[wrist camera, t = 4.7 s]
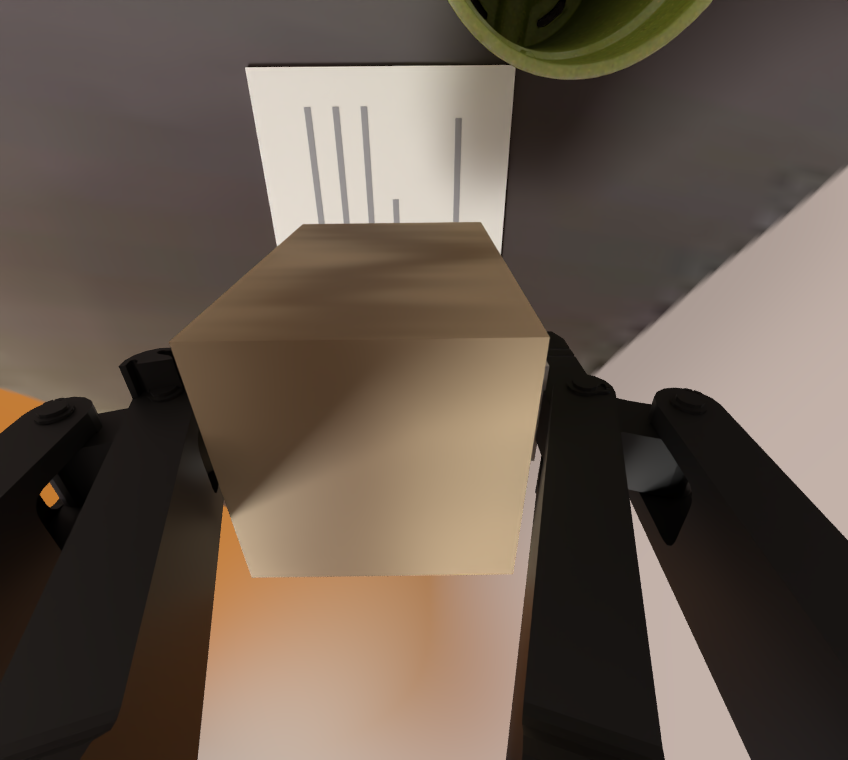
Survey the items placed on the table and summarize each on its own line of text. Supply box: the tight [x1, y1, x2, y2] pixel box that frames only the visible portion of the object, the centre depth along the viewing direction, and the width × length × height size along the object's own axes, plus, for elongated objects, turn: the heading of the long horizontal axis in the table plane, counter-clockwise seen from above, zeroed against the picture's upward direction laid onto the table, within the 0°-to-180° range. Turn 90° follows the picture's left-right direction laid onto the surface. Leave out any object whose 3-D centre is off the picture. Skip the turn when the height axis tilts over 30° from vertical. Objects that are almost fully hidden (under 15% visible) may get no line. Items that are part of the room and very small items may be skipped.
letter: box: [245, 65, 516, 255], centre depth 23 cm, size 12×17×1 cm
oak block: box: [169, 222, 550, 578], centre depth 12 cm, size 6×6×9 cm
